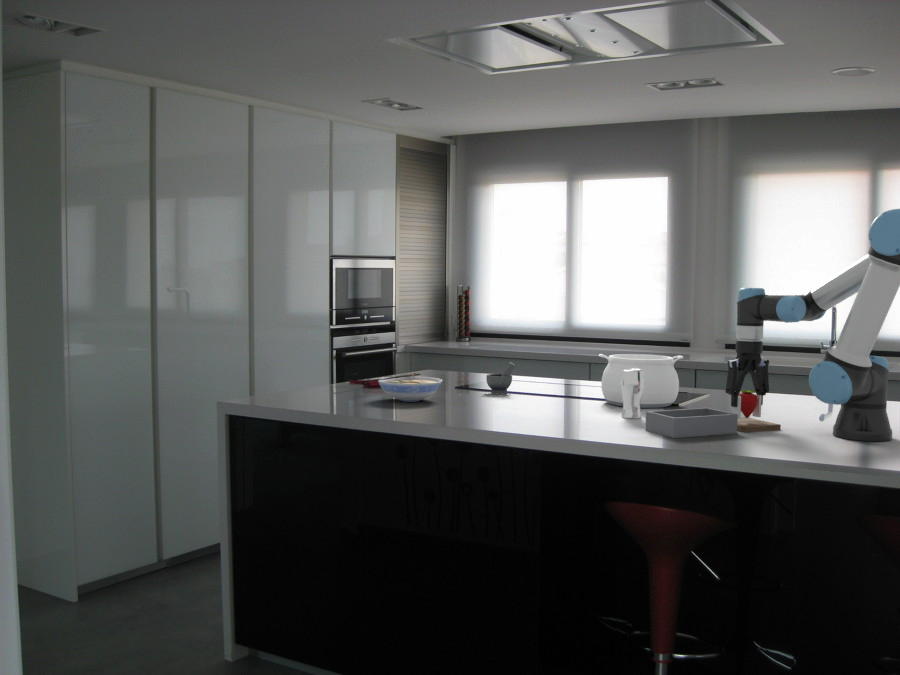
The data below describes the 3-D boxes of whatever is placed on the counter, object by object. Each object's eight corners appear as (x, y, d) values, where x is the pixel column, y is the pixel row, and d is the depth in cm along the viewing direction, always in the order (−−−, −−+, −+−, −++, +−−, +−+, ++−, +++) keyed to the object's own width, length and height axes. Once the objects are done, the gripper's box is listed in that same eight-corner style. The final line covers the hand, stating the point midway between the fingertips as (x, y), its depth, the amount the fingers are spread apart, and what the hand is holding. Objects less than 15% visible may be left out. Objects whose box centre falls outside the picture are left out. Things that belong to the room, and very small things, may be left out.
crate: (737, 433, 252) (737, 414, 252) (673, 438, 244) (674, 418, 243) (706, 426, 264) (707, 407, 264) (645, 430, 255) (646, 411, 255)
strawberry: (733, 418, 261) (734, 385, 260) (739, 415, 268) (740, 382, 267) (753, 420, 258) (754, 386, 257) (759, 417, 264) (760, 383, 264)
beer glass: (626, 419, 275) (627, 371, 274) (616, 415, 281) (617, 368, 280) (646, 418, 277) (647, 370, 276) (636, 415, 283) (637, 368, 282)
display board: (780, 429, 259) (780, 424, 259) (745, 432, 254) (745, 427, 254) (746, 422, 272) (747, 417, 272) (712, 424, 267) (713, 419, 267)
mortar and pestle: (481, 393, 331) (482, 361, 330) (492, 391, 339) (492, 359, 338) (509, 396, 326) (510, 363, 325) (519, 393, 334) (519, 361, 333)
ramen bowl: (412, 407, 294) (412, 383, 293) (361, 401, 307) (361, 377, 307) (457, 400, 313) (457, 377, 313) (407, 394, 327) (408, 372, 327)
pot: (675, 399, 321) (677, 352, 319) (688, 410, 294) (689, 359, 293) (594, 397, 324) (596, 350, 322) (599, 408, 297) (601, 357, 296)
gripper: (766, 338, 269) (763, 413, 270) (713, 339, 261) (711, 416, 262) (784, 340, 262) (781, 417, 263) (731, 341, 254) (728, 420, 255)
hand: (746, 417), depth 263 cm, fingers closed on strawberry, 7 cm apart
